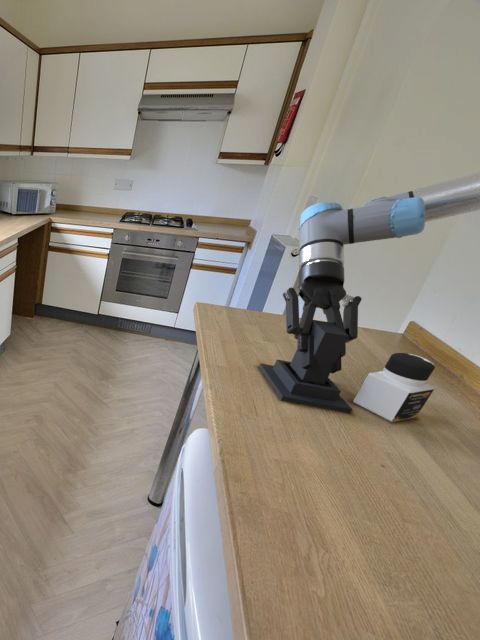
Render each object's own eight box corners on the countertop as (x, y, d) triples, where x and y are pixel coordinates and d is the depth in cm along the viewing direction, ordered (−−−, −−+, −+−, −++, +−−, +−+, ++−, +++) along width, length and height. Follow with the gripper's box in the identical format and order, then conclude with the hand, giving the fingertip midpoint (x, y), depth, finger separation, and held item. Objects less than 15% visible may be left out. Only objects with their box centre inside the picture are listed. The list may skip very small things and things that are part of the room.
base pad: (317, 377, 94) (324, 363, 92) (350, 413, 81) (358, 398, 79) (258, 366, 97) (263, 353, 95) (280, 400, 84) (287, 386, 82)
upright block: (310, 368, 90) (332, 322, 85) (324, 384, 84) (349, 336, 79) (289, 364, 91) (310, 319, 86) (302, 380, 85) (325, 332, 80)
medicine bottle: (392, 422, 78) (425, 368, 73) (351, 402, 85) (380, 350, 79) (416, 418, 80) (451, 365, 75) (375, 397, 86) (404, 347, 81)
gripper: (355, 282, 91) (358, 382, 84) (268, 271, 95) (264, 366, 88) (380, 264, 84) (386, 372, 77) (285, 254, 88) (282, 355, 81)
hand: (321, 368), depth 82 cm, fingers closed on upright block, 4 cm apart
